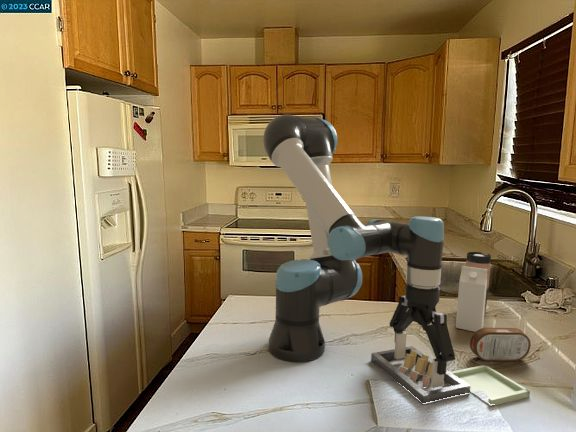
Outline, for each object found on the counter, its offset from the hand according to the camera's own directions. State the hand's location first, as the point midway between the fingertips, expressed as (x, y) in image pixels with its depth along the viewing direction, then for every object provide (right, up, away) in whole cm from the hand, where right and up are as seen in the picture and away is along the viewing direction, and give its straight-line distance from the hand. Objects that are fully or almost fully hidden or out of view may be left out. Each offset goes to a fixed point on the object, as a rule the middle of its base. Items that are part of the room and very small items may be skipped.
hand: (417, 371), depth 94 cm
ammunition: (0, -2, 0) cm, 2 cm away
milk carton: (+26, +2, +30) cm, 40 cm away
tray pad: (+15, -2, -4) cm, 15 cm away
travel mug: (+34, +4, +45) cm, 57 cm away
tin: (+24, -1, +9) cm, 26 cm away
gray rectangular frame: (0, -1, 0) cm, 1 cm away
